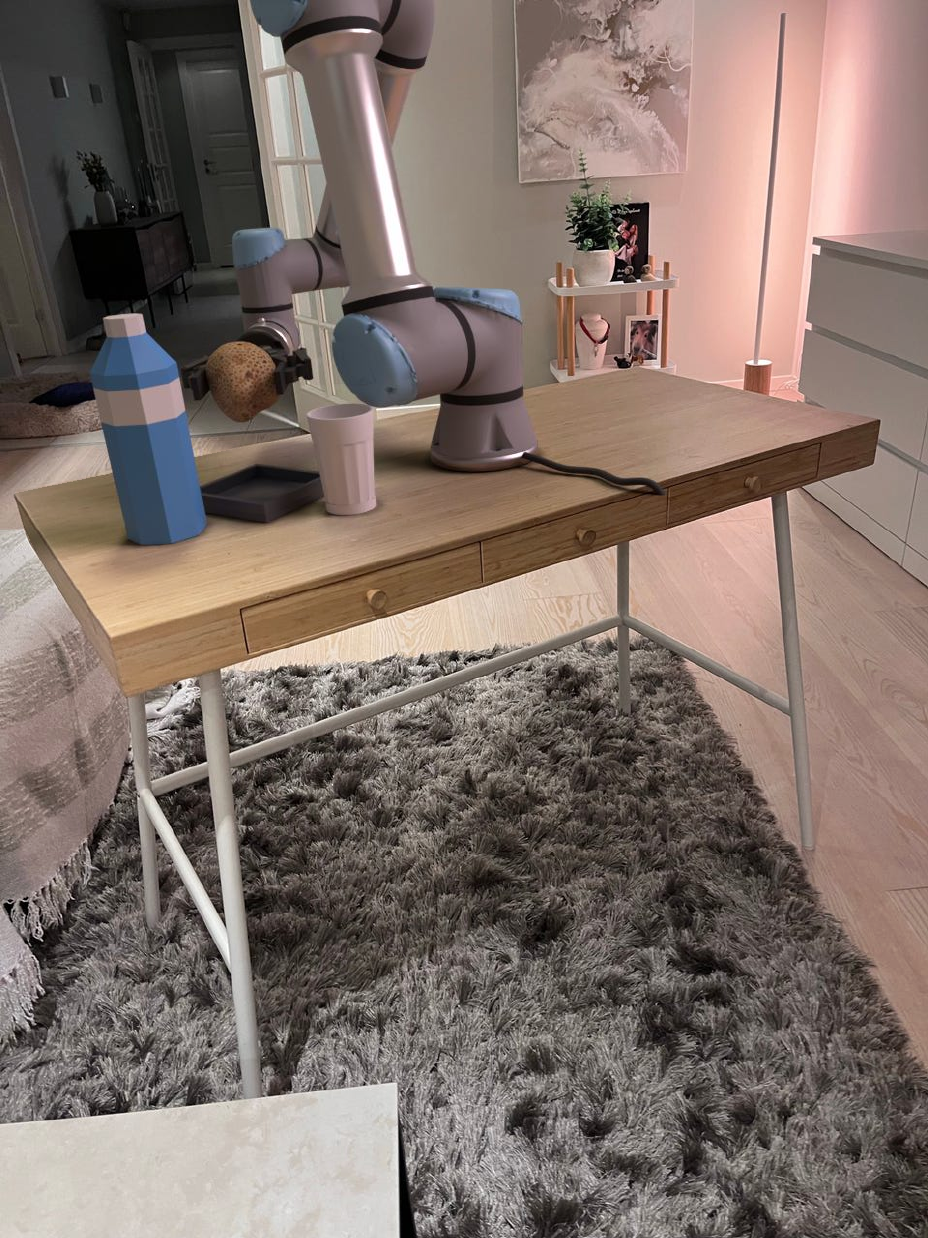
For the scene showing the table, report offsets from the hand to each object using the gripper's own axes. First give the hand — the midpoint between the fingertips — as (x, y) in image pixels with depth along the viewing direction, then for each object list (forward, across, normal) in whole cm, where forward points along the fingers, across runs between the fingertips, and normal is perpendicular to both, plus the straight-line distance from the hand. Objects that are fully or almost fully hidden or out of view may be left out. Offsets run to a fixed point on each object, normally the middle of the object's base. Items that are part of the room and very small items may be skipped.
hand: (237, 386), depth 112 cm
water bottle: (+5, -10, +16) cm, 19 cm away
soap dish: (-5, 0, +16) cm, 16 cm away
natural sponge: (-2, 0, +5) cm, 6 cm away
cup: (+1, +12, +16) cm, 20 cm away
